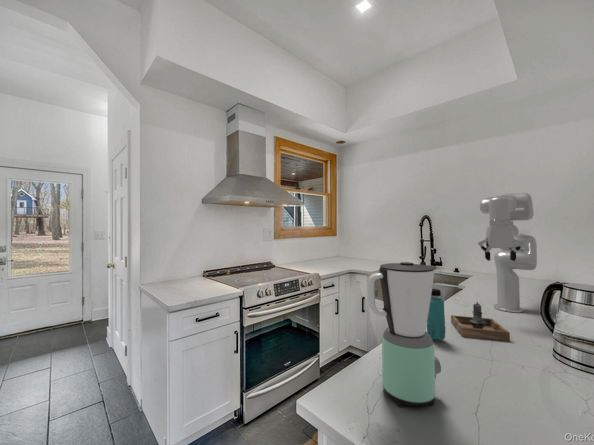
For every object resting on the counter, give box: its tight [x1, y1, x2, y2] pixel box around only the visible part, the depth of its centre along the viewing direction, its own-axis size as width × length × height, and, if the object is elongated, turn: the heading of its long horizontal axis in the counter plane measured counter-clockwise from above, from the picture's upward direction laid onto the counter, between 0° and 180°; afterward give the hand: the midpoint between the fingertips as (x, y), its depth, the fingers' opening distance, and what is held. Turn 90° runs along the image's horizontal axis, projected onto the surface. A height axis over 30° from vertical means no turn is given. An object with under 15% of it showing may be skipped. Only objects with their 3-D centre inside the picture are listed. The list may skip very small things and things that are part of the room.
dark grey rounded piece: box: [469, 301, 486, 329], centre depth 113 cm, size 6×6×12 cm
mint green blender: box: [367, 261, 442, 408], centre depth 70 cm, size 19×13×35 cm
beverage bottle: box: [426, 288, 446, 341], centre depth 104 cm, size 6×7×20 cm
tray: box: [450, 315, 511, 342], centre depth 113 cm, size 16×16×4 cm
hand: (500, 260), depth 123 cm, fingers open, 9 cm apart
